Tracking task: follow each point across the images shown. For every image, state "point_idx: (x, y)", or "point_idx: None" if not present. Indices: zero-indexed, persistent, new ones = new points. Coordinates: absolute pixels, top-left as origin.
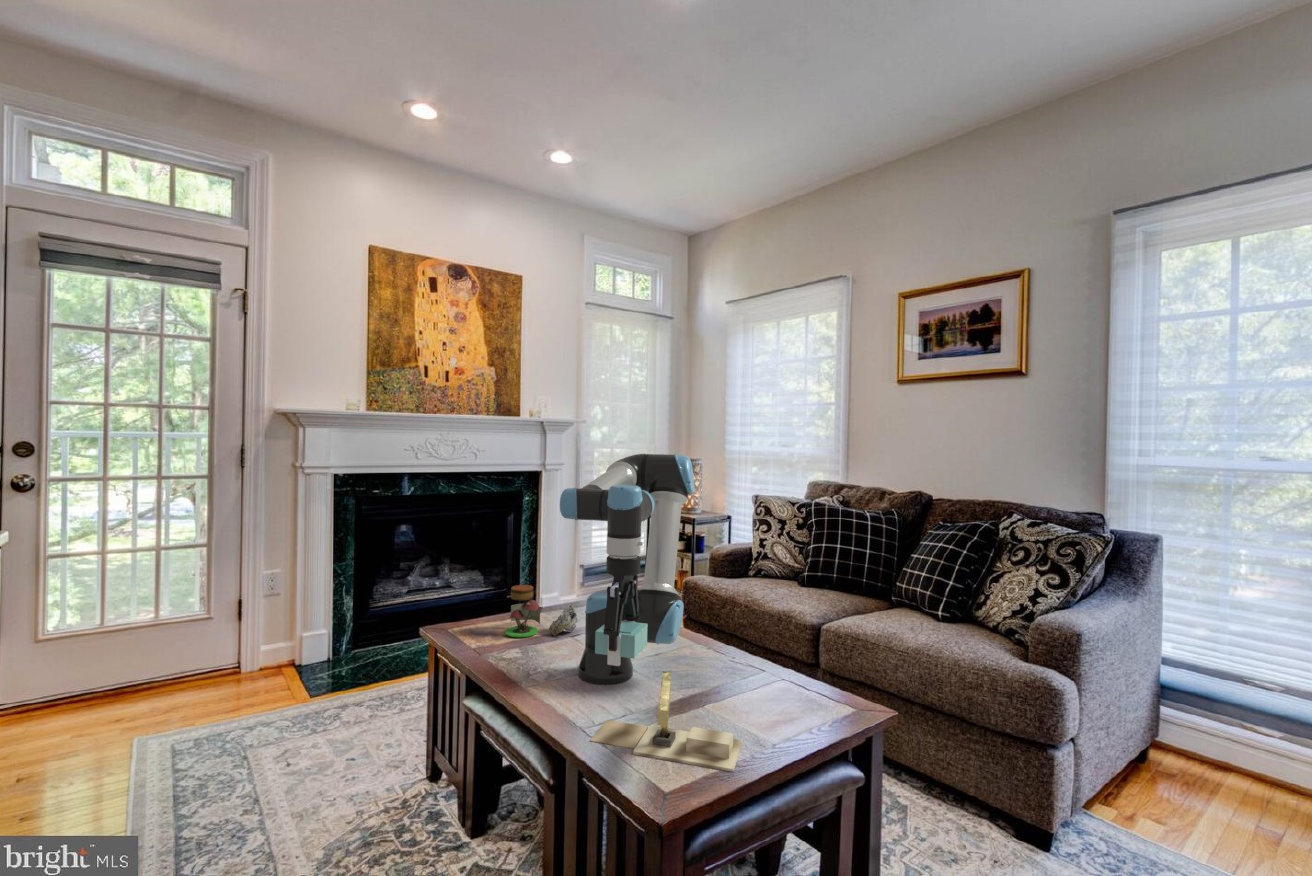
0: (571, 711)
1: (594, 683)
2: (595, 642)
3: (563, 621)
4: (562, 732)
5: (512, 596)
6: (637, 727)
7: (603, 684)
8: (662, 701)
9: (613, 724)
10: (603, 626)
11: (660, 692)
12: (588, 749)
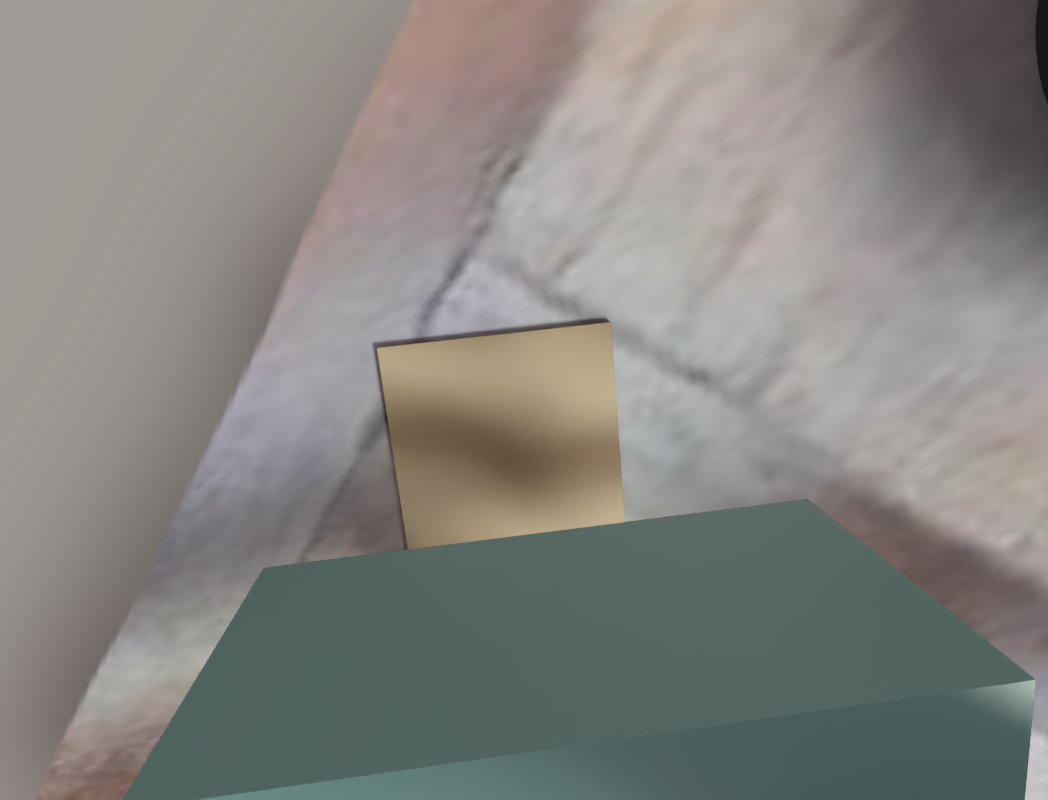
0: (634, 75)
1: (1038, 11)
2: (207, 662)
3: None
4: (391, 162)
5: None
6: (596, 496)
7: (1041, 74)
8: None
9: (577, 377)
10: (506, 794)
11: None
12: (305, 378)
